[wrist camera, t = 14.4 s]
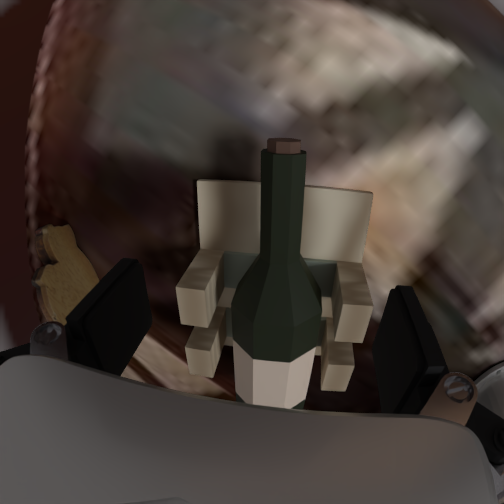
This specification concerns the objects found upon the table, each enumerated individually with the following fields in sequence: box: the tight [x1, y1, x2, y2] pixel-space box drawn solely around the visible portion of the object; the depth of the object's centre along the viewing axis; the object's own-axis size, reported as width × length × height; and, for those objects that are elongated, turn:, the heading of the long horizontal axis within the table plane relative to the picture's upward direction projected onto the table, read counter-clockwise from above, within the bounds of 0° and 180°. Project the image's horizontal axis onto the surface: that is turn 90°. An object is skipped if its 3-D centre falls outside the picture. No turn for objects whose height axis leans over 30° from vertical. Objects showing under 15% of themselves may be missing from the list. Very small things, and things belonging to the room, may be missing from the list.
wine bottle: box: [231, 138, 322, 410], centre depth 28 cm, size 8×8×30 cm
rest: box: [176, 179, 373, 391], centre depth 29 cm, size 16×20×8 cm
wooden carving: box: [31, 224, 99, 325], centre depth 32 cm, size 16×5×10 cm, turn 19°
